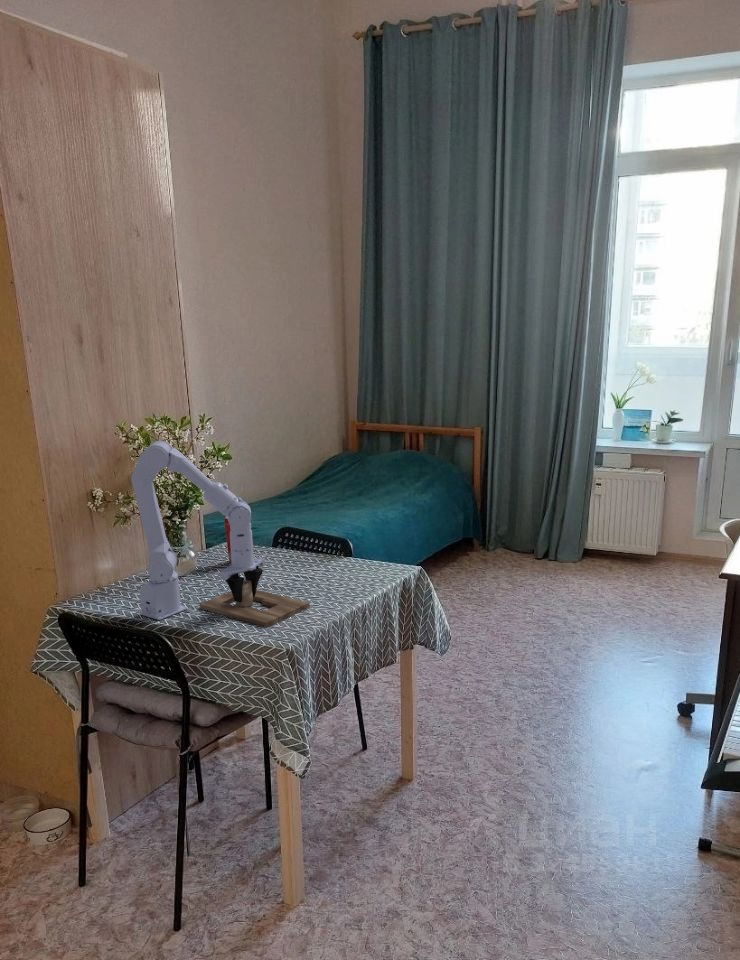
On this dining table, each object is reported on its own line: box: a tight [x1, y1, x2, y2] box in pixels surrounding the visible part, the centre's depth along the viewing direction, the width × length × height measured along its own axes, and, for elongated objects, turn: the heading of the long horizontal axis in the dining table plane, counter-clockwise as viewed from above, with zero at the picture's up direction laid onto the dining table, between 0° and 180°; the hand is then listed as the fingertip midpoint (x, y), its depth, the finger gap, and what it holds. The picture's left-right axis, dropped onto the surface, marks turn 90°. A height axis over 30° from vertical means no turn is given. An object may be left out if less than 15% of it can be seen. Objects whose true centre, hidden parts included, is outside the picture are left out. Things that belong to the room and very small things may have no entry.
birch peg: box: [235, 579, 254, 608], centre depth 194 cm, size 4×4×6 cm
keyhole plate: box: [199, 589, 310, 628], centre depth 192 cm, size 16×24×1 cm, turn 54°
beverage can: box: [223, 516, 232, 565], centre depth 231 cm, size 6×6×15 cm
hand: (244, 598), depth 194 cm, fingers closed on birch peg, 4 cm apart
